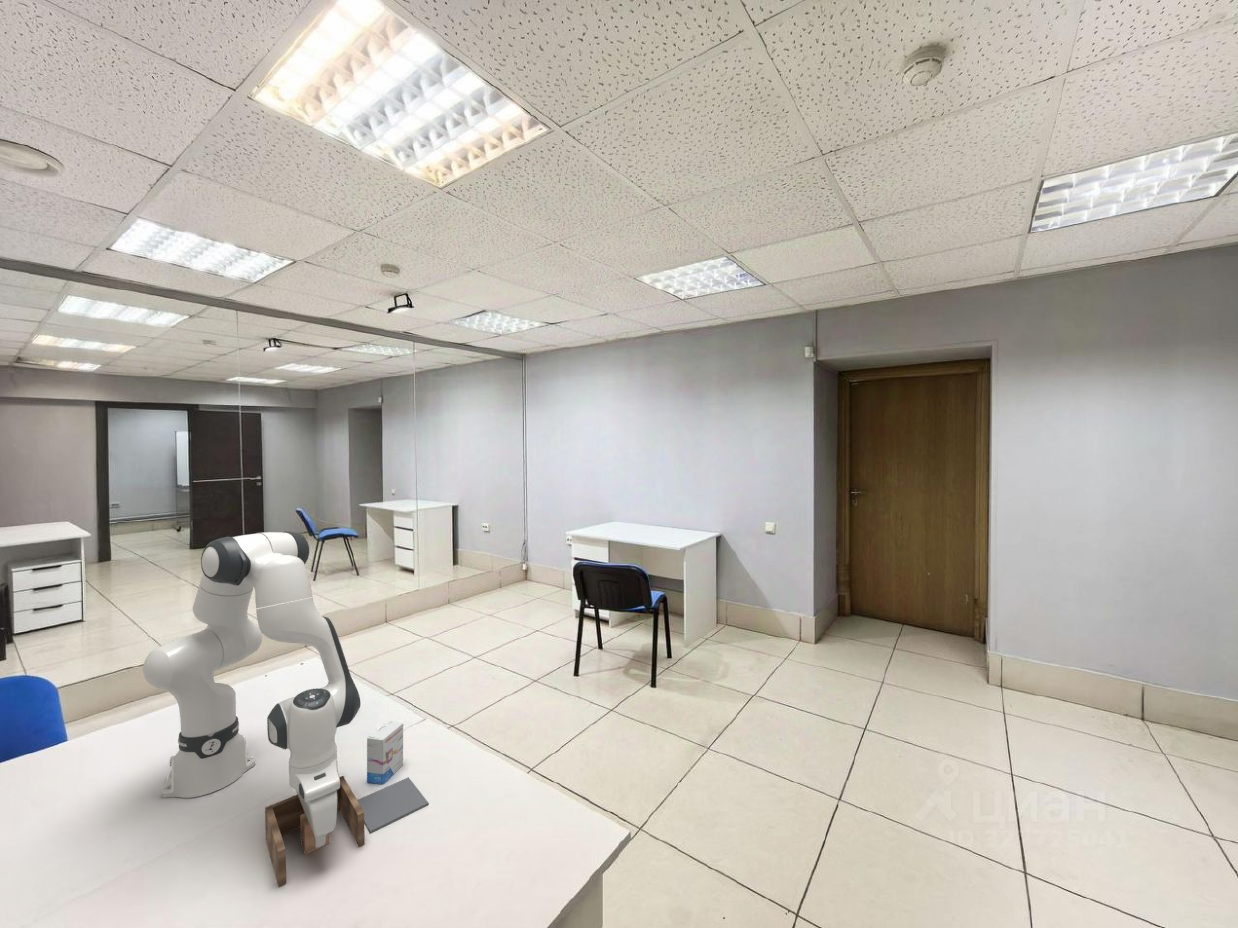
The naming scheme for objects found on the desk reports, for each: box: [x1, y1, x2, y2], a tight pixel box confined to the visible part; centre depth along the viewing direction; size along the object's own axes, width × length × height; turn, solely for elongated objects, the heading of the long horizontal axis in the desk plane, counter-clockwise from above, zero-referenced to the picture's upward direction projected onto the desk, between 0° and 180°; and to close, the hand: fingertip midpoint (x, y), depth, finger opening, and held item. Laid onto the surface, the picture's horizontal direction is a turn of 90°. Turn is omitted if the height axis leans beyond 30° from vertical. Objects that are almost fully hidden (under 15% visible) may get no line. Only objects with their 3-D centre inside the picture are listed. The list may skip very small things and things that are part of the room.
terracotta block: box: [300, 814, 331, 855], centre depth 107 cm, size 4×4×6 cm
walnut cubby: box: [264, 775, 366, 888], centre depth 107 cm, size 17×15×7 cm
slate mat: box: [357, 776, 430, 834], centre depth 119 cm, size 13×13×1 cm
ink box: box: [366, 720, 404, 785], centre depth 130 cm, size 9×5×12 cm, turn 168°
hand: (314, 831), depth 107 cm, fingers open, 8 cm apart
